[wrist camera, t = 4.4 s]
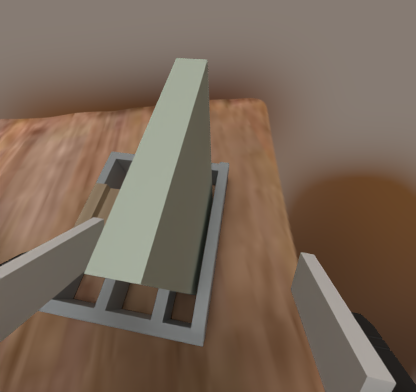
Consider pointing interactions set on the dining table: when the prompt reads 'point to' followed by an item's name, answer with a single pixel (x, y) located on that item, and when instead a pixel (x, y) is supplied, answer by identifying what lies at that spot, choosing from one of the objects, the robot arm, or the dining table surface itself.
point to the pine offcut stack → (98, 203)
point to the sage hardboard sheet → (164, 192)
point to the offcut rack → (161, 317)
